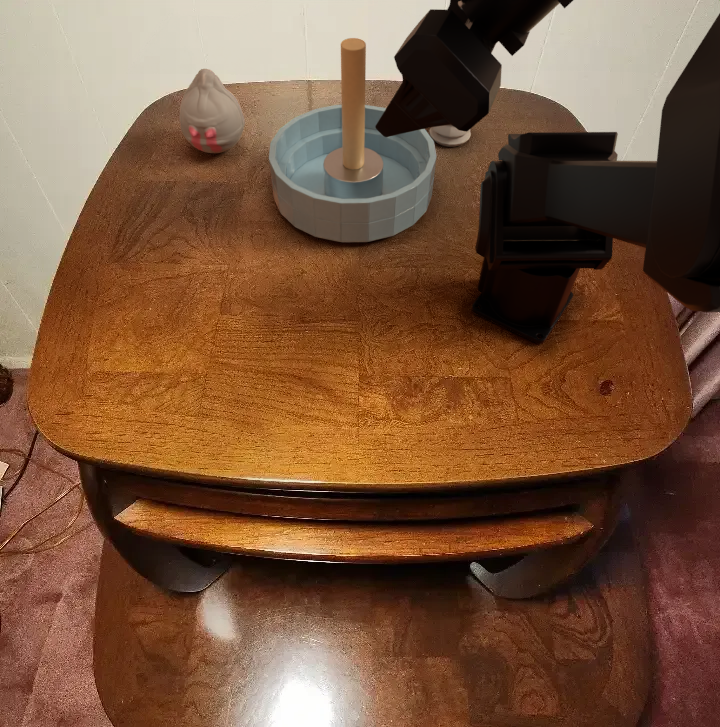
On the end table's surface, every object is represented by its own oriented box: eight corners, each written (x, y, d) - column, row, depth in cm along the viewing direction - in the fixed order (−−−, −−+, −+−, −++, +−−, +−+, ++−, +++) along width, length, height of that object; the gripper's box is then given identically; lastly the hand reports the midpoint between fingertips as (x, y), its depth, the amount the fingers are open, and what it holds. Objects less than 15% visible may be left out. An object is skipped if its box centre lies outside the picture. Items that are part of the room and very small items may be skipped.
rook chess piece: (469, 150, 65) (481, 76, 59) (426, 146, 65) (434, 72, 59) (471, 126, 68) (483, 53, 61) (430, 123, 68) (438, 49, 62)
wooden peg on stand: (393, 185, 61) (402, 39, 49) (361, 216, 58) (362, 68, 47) (346, 165, 62) (344, 20, 51) (313, 194, 60) (303, 47, 48)
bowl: (458, 182, 62) (465, 137, 58) (374, 270, 54) (376, 226, 50) (334, 132, 67) (333, 87, 63) (242, 206, 59) (234, 161, 55)
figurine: (176, 165, 63) (156, 90, 57) (196, 126, 67) (180, 53, 61) (238, 171, 63) (225, 96, 56) (255, 132, 67) (244, 58, 60)
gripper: (507, -231, 38) (362, -31, 50) (422, -146, 28) (264, 82, 40) (617, -85, 42) (458, 70, 54) (578, 40, 31) (390, 199, 43)
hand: (399, 99), depth 47 cm, fingers open, 9 cm apart
